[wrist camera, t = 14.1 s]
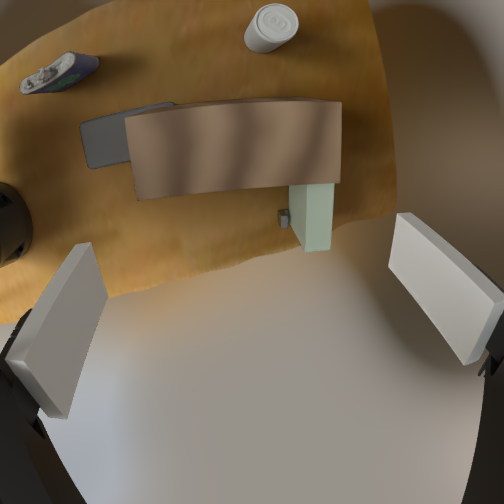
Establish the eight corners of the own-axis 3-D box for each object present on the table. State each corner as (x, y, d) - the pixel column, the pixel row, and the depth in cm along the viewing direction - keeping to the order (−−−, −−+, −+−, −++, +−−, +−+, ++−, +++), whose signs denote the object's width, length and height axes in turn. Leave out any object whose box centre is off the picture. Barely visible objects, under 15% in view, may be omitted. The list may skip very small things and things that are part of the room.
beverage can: (255, 17, 35) (270, -6, 25) (284, 35, 37) (308, 18, 26) (236, 42, 37) (244, 26, 26) (265, 60, 38) (284, 50, 28)
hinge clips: (278, 221, 51) (281, 228, 49) (276, 160, 46) (280, 164, 44) (320, 218, 51) (324, 224, 49) (321, 158, 46) (327, 162, 44)
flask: (97, 53, 34) (66, 46, 25) (102, 70, 36) (73, 67, 27) (46, 81, 35) (8, 84, 25) (51, 97, 36) (14, 104, 27)
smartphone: (78, 123, 39) (174, 100, 39) (80, 122, 39) (175, 100, 40) (88, 170, 42) (182, 152, 43) (90, 169, 43) (183, 150, 44)
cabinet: (157, 168, 44) (137, 200, 32) (150, 108, 40) (124, 117, 28) (306, 155, 46) (339, 182, 34) (305, 97, 42) (341, 102, 29)
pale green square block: (288, 221, 50) (305, 252, 42) (288, 160, 46) (307, 179, 37) (315, 219, 51) (336, 249, 42) (317, 159, 46) (341, 177, 37)
